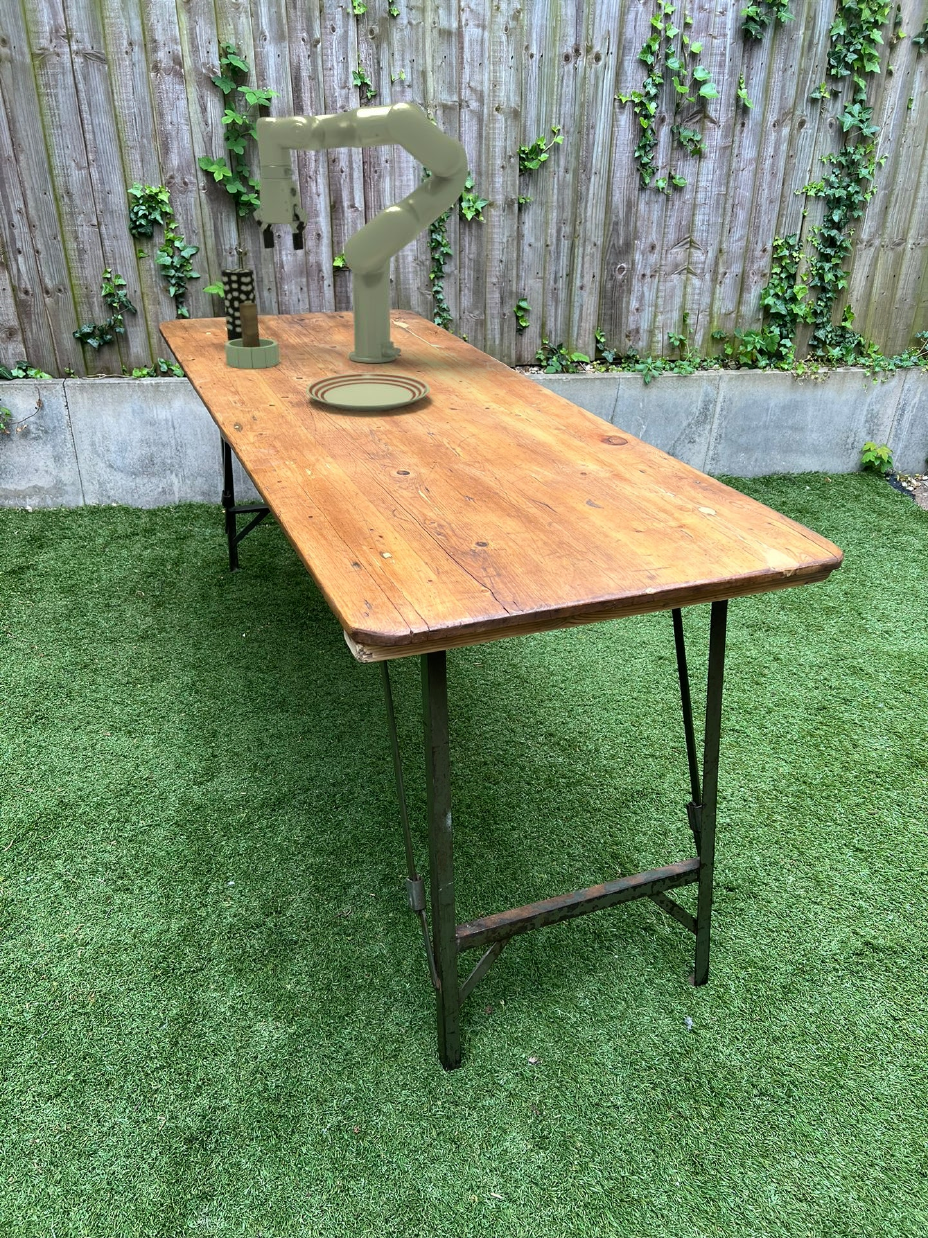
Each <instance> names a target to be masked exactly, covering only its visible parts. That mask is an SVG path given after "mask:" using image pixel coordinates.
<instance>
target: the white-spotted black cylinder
mask: <svg viewBox="0 0 928 1238" xmlns="http://www.w3.org/2000/svg"><path fill="white" fill-rule="evenodd" d="M220 273H221V279H222V280H221V283H222V292H223V302H224V312H225V323H226V332H227V342H228V341H230V340H236V339H242V330H241V319H240V308H239V304H242V303H254V304H257V299H256V288H255V276H254V275H255V274H254V270H253V269H249V268H248V269H247V268H229V269H228V268H226V269H223V270H221V271H220Z"/></svg>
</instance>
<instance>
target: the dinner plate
mask: <svg viewBox="0 0 928 1238" xmlns="http://www.w3.org/2000/svg"><path fill="white" fill-rule="evenodd" d="M430 391H431V387H430V386H429V385H428V383H426V382H425V381H424V380H421V379H420V378H417V377H413V376H409V375H405V374H398V373H397V374H396V373H386V372H356V373H355V372H354V373H353V372H352V373H344V374H343V373H342V374H337V375H336V374H335V375H331V376H327V377H323V378H319V379H317V380H315V381H313V382H311V383H310V384H308V385H307V387H306V389H305V392H306V394H307V395H308V396H309V397H310V398H312V399H314V400H316V401H318V402H320V403H321V402H322V403H323V404H327V405H329V406H331V407H335V408H338V409H343V410H348V411H360V412H374V411H375V412H377V411H378V412H379V411H386V410H387V411H389V410H393V409H398V408H400V407H401V408H402V407H404V406H406V405H410V404H412V403H415V402H418V401H419V400H421V399H423V398H425V397H426V396H427V395H428V394H429V393H430Z"/></svg>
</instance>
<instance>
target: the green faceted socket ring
mask: <svg viewBox="0 0 928 1238" xmlns="http://www.w3.org/2000/svg"><path fill="white" fill-rule="evenodd" d="M259 341H260V347H253V348H248V347H243V341H242V339H236V340H230V341H228V340H227V341H226V342H224V350H225V351H224V352H225V361H226V365H227V366H229V367H231V368H235V367H237V368H236V369H245V370H247V369H249V370H253V369H267V368H271V367H275V365H276V366H278V365H279V364H280V361H281V359H280V349H279V348H280V347H279V342H278V341H277V340H275V339H269V338H264V337H263V338H260V337H259ZM278 363H279V364H278ZM266 367H267V368H266Z"/></svg>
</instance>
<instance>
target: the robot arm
mask: <svg viewBox="0 0 928 1238" xmlns="http://www.w3.org/2000/svg"><path fill="white" fill-rule="evenodd" d="M255 126H256V136H257V145H258V154H259V164H260V175H261V180H260V185H259V204H260V205H259V208H257V209H256V210H255V211H253V214H252V215H253V216H254V219H255V221H256V224H257V226H258V228H259V229H260V232H262V236H263V244H264V245H263V246H264V249H267V250H268V249H274V248H275V238H274V231H273V230H272V228H273V227H274V225H283V226H284V225H289V226H290V228H291V230H292V231H293V232H292V235H291V236H292V247H293V251H301V250H304V235H303V233H304V232H305V229H306V228H307V225H308V221H309V217H310V214H309V213H308V212H306V210H305V209H302V204H301V197H300V193H299V188H298V185H297V181H296V180H294V179H293V177H294V175H295V169H293V167H292V157H291V150H293V151H301V152H307V151H309V152H310V151H311V152H312V151H321V150H332V149H341V148H342V149H343V148H355V149H364V148H372V147H383V146H393V145H394V146H395V145H399V146H400V147H401V148H403V150H405V151H406V152H407V153H408V154H409V155H410V156H412V157H413V158H414V159H415V160H416V161H417V162H419V164H421V165H422V166H423V167H424V168H425V169H426V170H427V171H429V172H430V175H429V176H428V178H426V179H425V180H424V181H423V182H422V183H420V184H419V185H418V186H417V187H416V188H415V189H414V190H413V191H412V192H410V193H409V194H408V195H407V196H406V197H404V198H402V199H401V200H400V201H397V202H395V203H393V204H391V205H388V206H387V207H386V208H384V209H383V210H382V211H380V212H379V213H378V214H376V215H375V216H374V217H373V218H372V219H371V220H369V221H368V222H367V223H366V224H365V225H363V226H362V227H361V228H360V229H359V230H358V231H356V232H355V233H354V234H352V235H351V236H350V237H349V239H348V240H347V241H346V243H345V246H344V249H343V257H344V262H345V264H346V266H347V267H348V268H349V269H350V270H351V271H352V309H353V310H352V311H353V312H352V313H353V340H354V341H353V345H354V351H351V352H349V353H348V358H349V360H351V361H353V362H358V363H366V364H378V363H379V364H380V363H387V362H393V361H395V360H396V359H397V357H398V356H399V355H400V354H401V351H402V349H401V347H395V345H394V344H395V343H394V341H391V307H390V305H391V300H390V299H391V297H390V295H391V293H390V291H391V290H390V289H391V288H390V286H391V284H390V283H391V282H390V280H391V279H390V277H391V262H392V261H391V259H392V258H393V257H394V256H395V255H396V254H398V253H399V252H401V250H403V249H404V248H406V246H408V245H409V244H411V243H413V242H414V241H415V240H416V239H417V237H418V236H419V235H420V234H421V233H422V232H424V231H425V230H426V229H427V228H428V227H429V226H430V225H432V224H433V223H434V222H435V221H436V220H438V218H440V217H441V216H442V215H443V214H444V213H446V212H447V211H448V210H449V209H450V208H451V207H452V206H453V205H454V204H455V203H456V202H457V201H458V199H459V198H460V197H461V195H462V193H463V191H464V189H465V186H466V183H467V181H468V175H469V174H468V173H469V165H468V164H469V163H468V162H469V161H468V157H467V152H466V151H467V150H466V149H465V147H464V145H463V143H461V141H459V140H458V139H457V138H455V137H452V136H449V135H447V134H446V133H445V132H444V131H443V130H441V129H440V128H439V127H438V126H437V125H436V124H435V123H434V122H432V121H431V120H430V119H429V118H428V117H427V116H426V114H425V112H424V110H423V109H422V108H421V106H419V105H418V104H416V103H414V102H411V101H399V102H396V103H390V104H383V105H382V104H381V105H371V106H360V107H355V108H352V109H350V110H348V111H345V112H341V113H333V114H323V115H292V116H286V117H282V116H281V117H280V116H266V117H265V116H264V117H259V118H258V119H257V120H256V125H255Z"/></svg>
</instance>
